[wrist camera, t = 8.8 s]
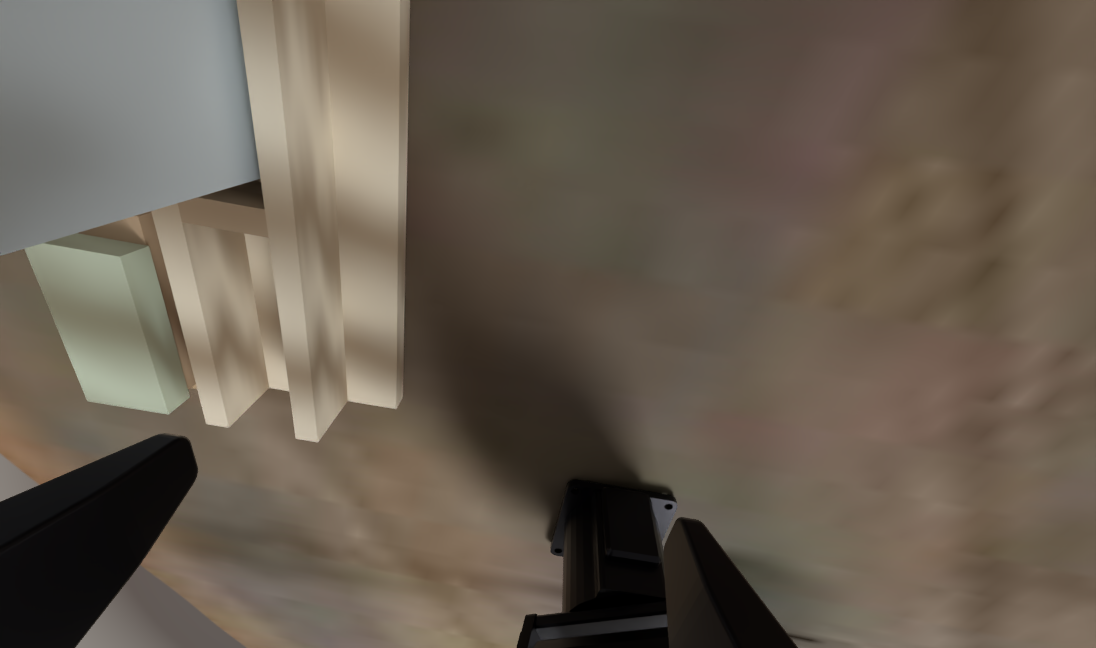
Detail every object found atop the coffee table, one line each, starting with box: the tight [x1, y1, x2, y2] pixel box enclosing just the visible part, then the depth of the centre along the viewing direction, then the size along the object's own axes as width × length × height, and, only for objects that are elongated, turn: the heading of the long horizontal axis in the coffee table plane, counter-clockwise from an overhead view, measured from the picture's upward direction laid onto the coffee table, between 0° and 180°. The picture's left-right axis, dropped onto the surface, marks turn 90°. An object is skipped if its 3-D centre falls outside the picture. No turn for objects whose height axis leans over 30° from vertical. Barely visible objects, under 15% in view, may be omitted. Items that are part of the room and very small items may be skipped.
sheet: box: [0, 0, 261, 255], centre depth 11 cm, size 8×2×10 cm, turn 170°
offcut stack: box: [25, 211, 197, 414], centre depth 19 cm, size 9×4×4 cm, turn 170°
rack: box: [151, 0, 410, 442], centre depth 17 cm, size 20×14×4 cm
